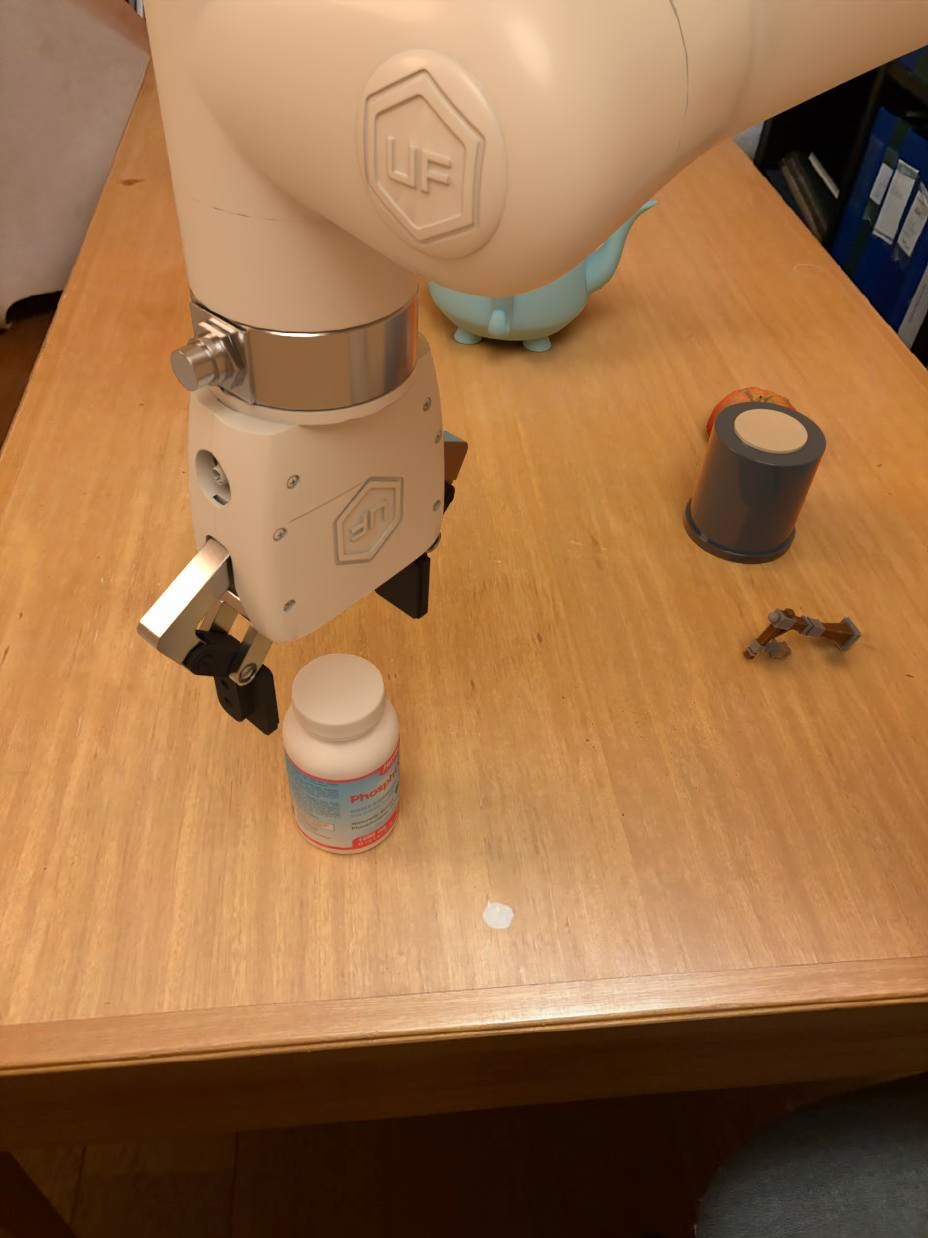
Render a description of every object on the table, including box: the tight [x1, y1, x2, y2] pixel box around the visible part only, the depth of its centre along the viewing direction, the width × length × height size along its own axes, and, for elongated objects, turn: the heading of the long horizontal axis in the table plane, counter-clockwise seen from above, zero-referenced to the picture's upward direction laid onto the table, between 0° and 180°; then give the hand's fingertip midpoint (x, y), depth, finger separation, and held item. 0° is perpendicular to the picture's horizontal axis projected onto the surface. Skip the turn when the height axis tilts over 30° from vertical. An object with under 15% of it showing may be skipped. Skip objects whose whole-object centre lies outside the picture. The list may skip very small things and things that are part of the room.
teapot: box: [427, 199, 659, 353], centre depth 89 cm, size 16×20×14 cm
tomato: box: [706, 386, 797, 439], centre depth 81 cm, size 8×7×7 cm
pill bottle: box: [281, 652, 401, 855], centre depth 50 cm, size 6×6×11 cm
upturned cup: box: [682, 402, 827, 565], centre depth 70 cm, size 9×9×9 cm
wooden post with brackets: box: [743, 607, 863, 661], centre depth 63 cm, size 2×8×4 cm, turn 106°
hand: (330, 655), depth 44 cm, fingers open, 9 cm apart
